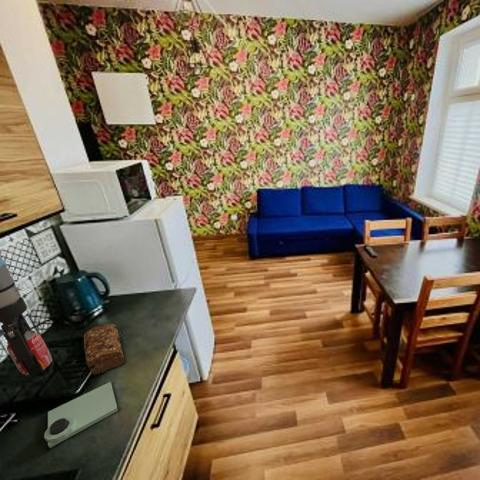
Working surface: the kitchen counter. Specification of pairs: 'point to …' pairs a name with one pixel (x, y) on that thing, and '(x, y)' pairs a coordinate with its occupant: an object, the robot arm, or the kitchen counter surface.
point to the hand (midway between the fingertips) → (36, 365)
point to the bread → (103, 348)
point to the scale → (82, 413)
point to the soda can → (33, 351)
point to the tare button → (59, 426)
